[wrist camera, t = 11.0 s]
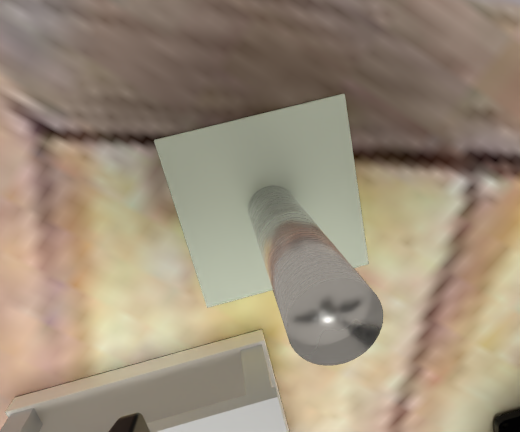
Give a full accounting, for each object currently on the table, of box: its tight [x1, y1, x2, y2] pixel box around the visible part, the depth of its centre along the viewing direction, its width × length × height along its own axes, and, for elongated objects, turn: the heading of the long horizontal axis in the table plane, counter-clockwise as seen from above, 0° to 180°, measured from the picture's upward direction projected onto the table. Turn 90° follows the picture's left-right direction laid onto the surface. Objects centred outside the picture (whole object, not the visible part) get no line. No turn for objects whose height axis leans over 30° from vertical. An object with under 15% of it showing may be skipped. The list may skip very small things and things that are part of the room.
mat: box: [154, 94, 369, 308], centre depth 19 cm, size 9×9×1 cm
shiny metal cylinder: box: [248, 186, 383, 365], centre depth 14 cm, size 2×2×10 cm
